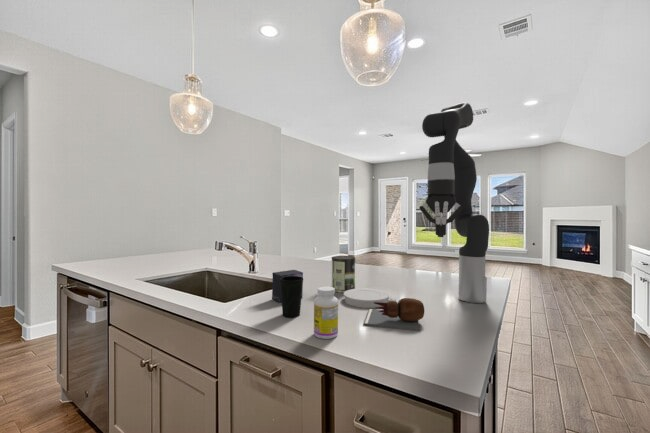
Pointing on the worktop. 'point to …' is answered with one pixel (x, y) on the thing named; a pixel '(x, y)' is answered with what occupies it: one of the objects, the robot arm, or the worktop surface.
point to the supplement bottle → (326, 313)
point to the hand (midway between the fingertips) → (440, 236)
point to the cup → (291, 295)
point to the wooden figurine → (403, 309)
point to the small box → (276, 282)
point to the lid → (366, 297)
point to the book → (388, 321)
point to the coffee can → (343, 273)
